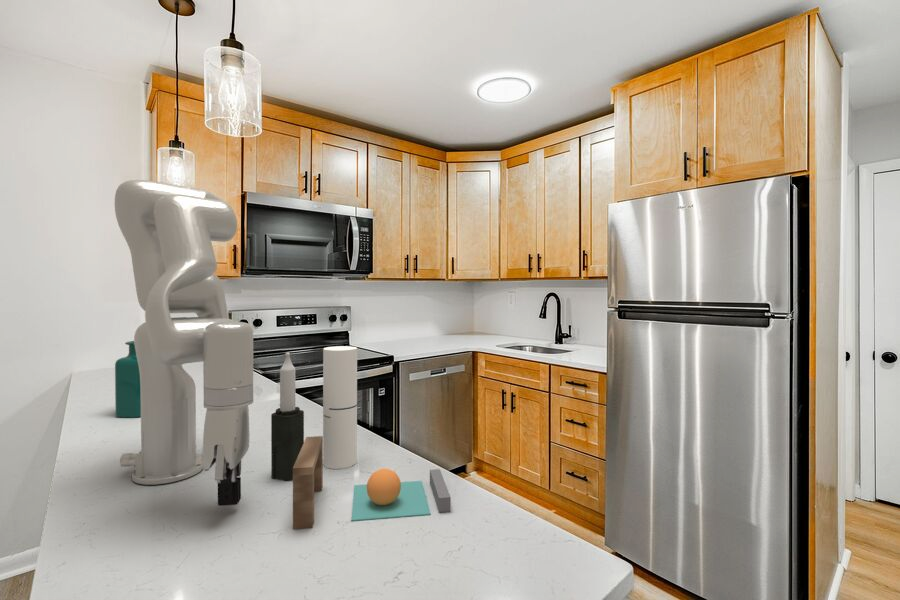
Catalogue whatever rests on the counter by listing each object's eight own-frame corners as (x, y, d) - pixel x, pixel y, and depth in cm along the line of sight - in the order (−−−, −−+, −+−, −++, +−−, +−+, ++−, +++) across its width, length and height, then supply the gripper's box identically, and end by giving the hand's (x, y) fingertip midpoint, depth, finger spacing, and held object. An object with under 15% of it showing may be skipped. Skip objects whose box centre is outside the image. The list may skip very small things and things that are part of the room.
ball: (400, 476, 76) (400, 511, 76) (401, 462, 82) (401, 495, 82) (364, 477, 75) (365, 512, 76) (368, 463, 81) (368, 496, 82)
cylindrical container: (348, 470, 93) (348, 351, 92) (317, 467, 95) (317, 349, 94) (361, 457, 100) (362, 346, 99) (332, 455, 101) (332, 345, 101)
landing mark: (351, 521, 73) (351, 519, 73) (354, 486, 86) (354, 485, 86) (430, 514, 75) (430, 513, 75) (421, 481, 88) (421, 480, 88)
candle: (306, 471, 92) (306, 351, 92) (289, 481, 87) (289, 354, 87) (286, 468, 94) (285, 350, 93) (268, 478, 89) (268, 353, 88)
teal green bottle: (140, 418, 129) (140, 342, 128) (111, 417, 129) (111, 342, 128) (163, 409, 139) (162, 338, 138) (136, 408, 139) (135, 338, 138)
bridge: (292, 529, 70) (292, 468, 70) (306, 487, 85) (306, 436, 85) (312, 527, 71) (312, 467, 71) (322, 486, 86) (322, 436, 85)
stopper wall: (438, 512, 76) (438, 498, 76) (429, 482, 88) (429, 469, 88) (450, 511, 76) (450, 497, 76) (439, 481, 88) (439, 469, 88)
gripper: (219, 386, 82) (220, 485, 82) (186, 408, 67) (187, 528, 68) (263, 385, 83) (263, 482, 84) (239, 406, 68) (240, 524, 69)
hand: (229, 502), depth 76 cm, fingers closed
